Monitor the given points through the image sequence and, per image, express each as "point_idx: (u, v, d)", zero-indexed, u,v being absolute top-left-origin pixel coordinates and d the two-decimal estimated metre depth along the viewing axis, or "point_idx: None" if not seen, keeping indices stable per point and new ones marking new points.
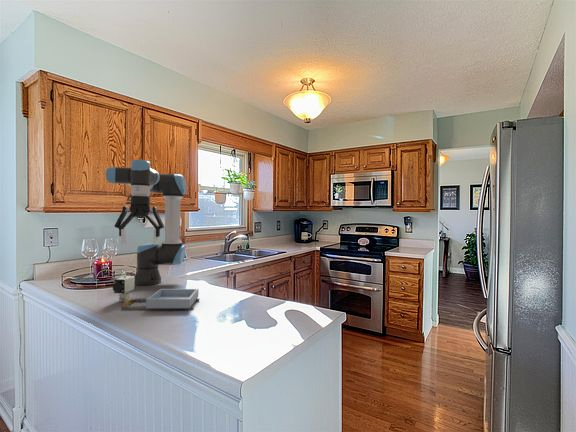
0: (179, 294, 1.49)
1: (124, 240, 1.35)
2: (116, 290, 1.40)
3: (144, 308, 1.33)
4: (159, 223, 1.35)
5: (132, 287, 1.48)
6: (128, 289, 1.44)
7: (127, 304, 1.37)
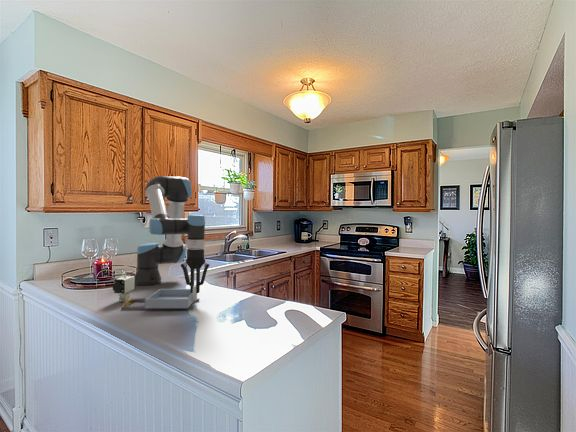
0: (178, 294, 1.49)
1: None
2: (116, 290, 1.40)
3: (144, 308, 1.33)
4: (202, 280, 1.41)
5: (132, 287, 1.48)
6: (128, 289, 1.44)
7: (127, 304, 1.37)
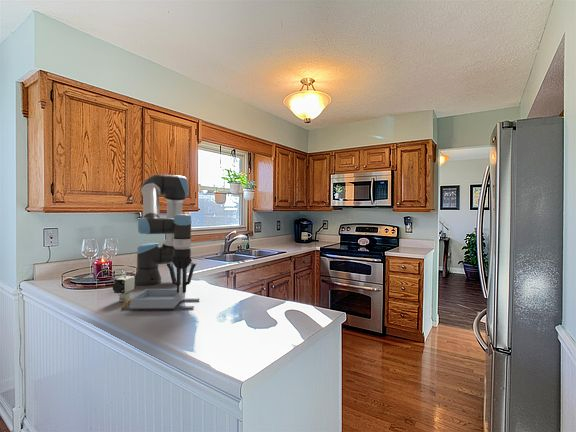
0: (165, 294, 1.48)
1: None
2: (116, 290, 1.40)
3: (144, 308, 1.33)
4: (188, 279, 1.40)
5: (132, 287, 1.48)
6: (128, 289, 1.44)
7: (127, 304, 1.37)
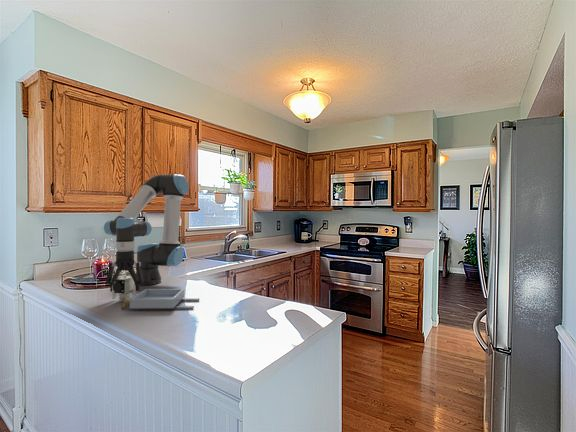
0: (165, 294, 1.48)
1: (115, 295, 1.46)
2: (116, 290, 1.40)
3: (144, 308, 1.33)
4: (139, 278, 1.45)
5: (132, 287, 1.48)
6: (128, 289, 1.44)
7: (127, 304, 1.37)
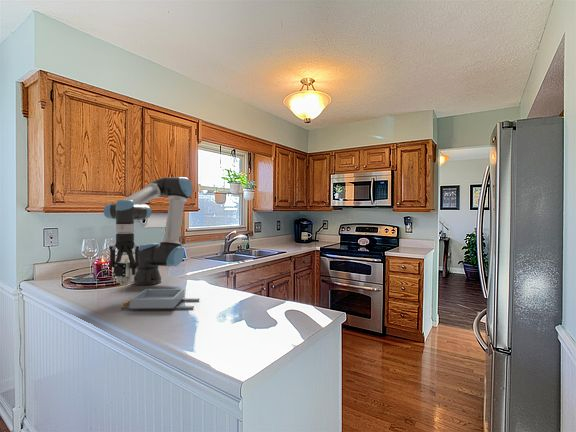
0: (165, 294, 1.48)
1: (119, 278, 1.46)
2: (117, 273, 1.40)
3: (144, 308, 1.33)
4: (136, 262, 1.45)
5: None
6: (129, 273, 1.45)
7: (127, 304, 1.37)
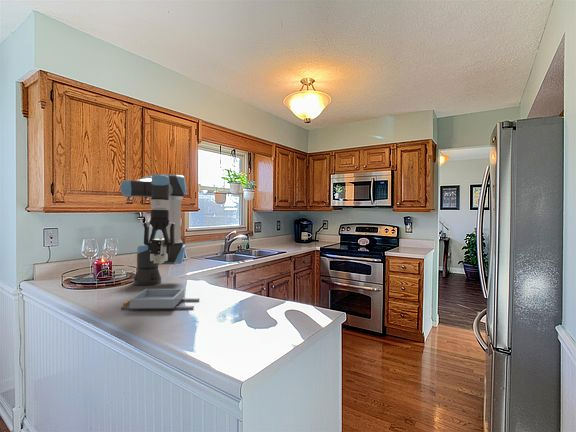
0: (165, 294, 1.48)
1: (153, 257, 1.40)
2: (152, 250, 1.34)
3: (144, 308, 1.33)
4: (171, 240, 1.39)
5: None
6: (163, 251, 1.39)
7: (127, 304, 1.37)
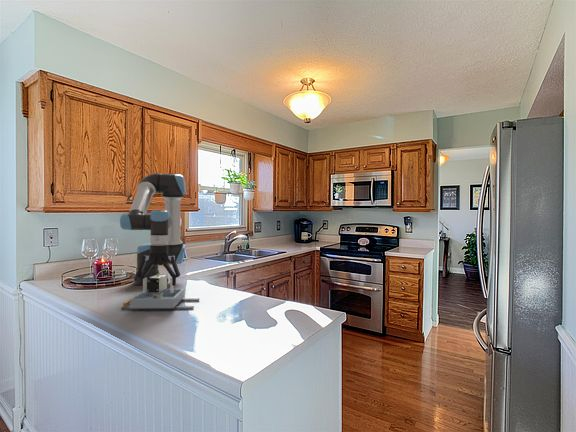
0: (165, 294, 1.48)
1: (145, 289, 1.40)
2: (151, 289, 1.34)
3: (144, 308, 1.33)
4: (176, 272, 1.39)
5: (165, 286, 1.42)
6: (162, 288, 1.39)
7: (127, 304, 1.37)
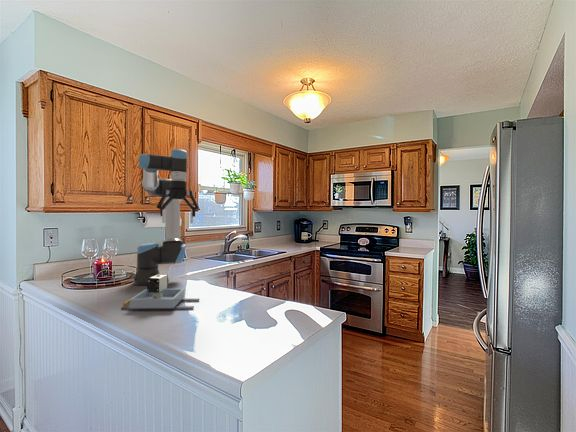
0: (165, 294, 1.48)
1: (164, 219, 1.55)
2: (151, 289, 1.34)
3: (144, 308, 1.33)
4: (195, 204, 1.55)
5: (165, 286, 1.42)
6: (162, 288, 1.39)
7: (127, 304, 1.37)
